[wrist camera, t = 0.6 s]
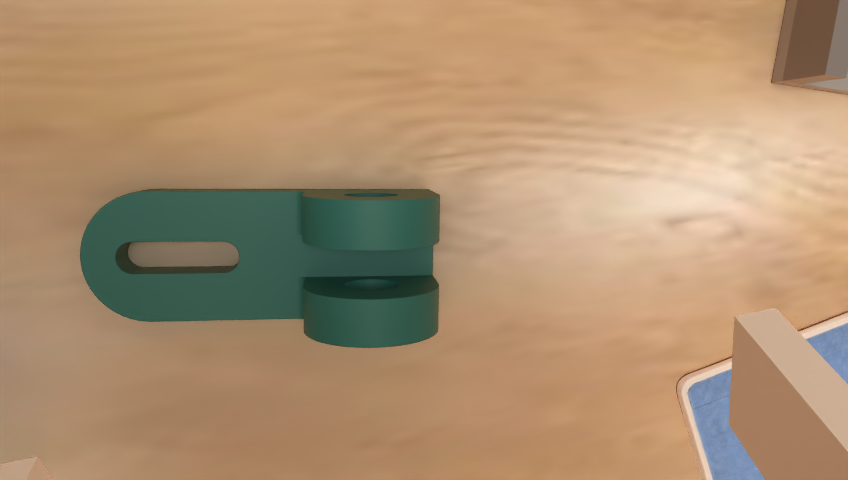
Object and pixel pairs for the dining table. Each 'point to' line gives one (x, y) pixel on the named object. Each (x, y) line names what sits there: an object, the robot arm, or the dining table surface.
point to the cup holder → (814, 46)
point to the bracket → (278, 260)
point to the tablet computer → (710, 401)
